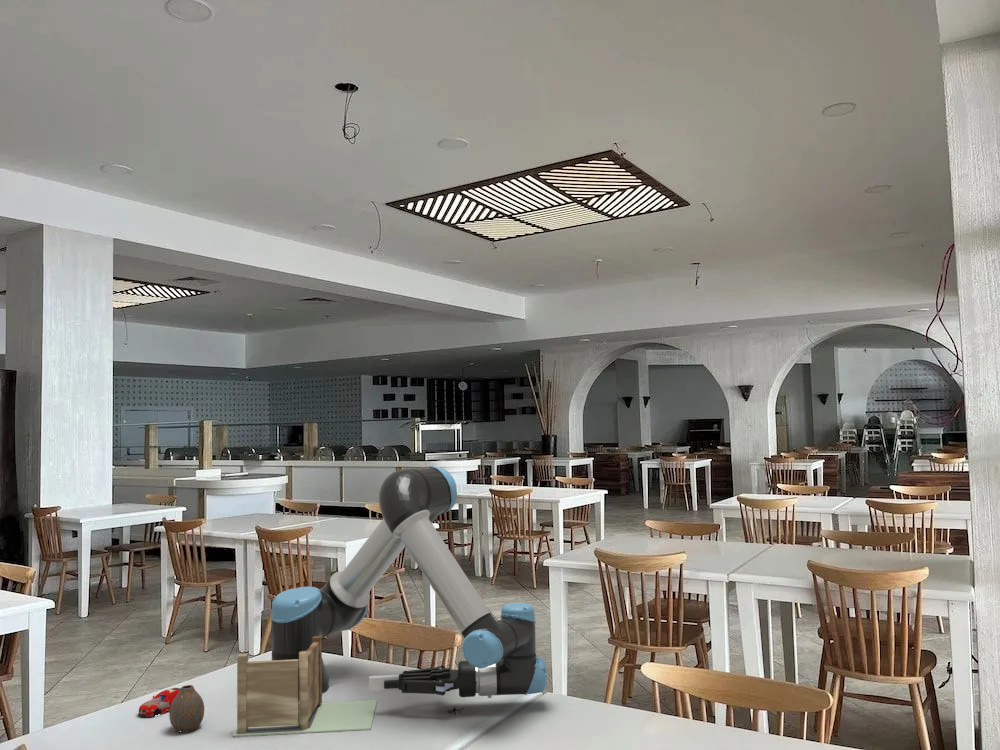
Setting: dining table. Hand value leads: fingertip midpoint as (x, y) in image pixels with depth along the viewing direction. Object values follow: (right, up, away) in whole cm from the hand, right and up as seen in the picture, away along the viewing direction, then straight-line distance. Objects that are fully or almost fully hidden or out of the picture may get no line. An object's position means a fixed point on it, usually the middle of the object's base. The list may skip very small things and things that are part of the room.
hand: (369, 683), depth 172 cm
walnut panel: (-13, -6, -1) cm, 14 cm away
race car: (-47, -9, +6) cm, 48 cm away
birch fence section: (-18, -6, -9) cm, 21 cm away
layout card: (-13, -7, -2) cm, 15 cm away
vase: (-38, -7, -6) cm, 39 cm away
